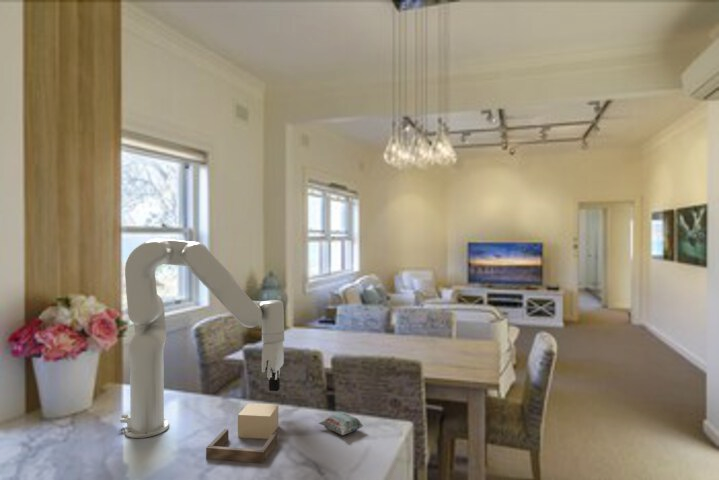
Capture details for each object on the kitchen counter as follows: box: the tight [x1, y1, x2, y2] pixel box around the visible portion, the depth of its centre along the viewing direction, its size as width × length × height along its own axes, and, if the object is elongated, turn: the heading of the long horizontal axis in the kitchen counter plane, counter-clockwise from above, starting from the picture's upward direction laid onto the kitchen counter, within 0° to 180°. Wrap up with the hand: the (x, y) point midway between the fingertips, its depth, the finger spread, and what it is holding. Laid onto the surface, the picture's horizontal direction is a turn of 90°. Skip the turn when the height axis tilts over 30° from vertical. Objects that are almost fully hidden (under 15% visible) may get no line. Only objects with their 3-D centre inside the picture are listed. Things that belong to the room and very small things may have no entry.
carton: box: [237, 402, 279, 440], centre depth 138 cm, size 10×9×7 cm
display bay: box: [205, 428, 278, 464], centre depth 126 cm, size 16×12×3 cm
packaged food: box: [318, 411, 364, 436], centre depth 139 cm, size 9×12×5 cm
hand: (274, 390), depth 151 cm, fingers closed
